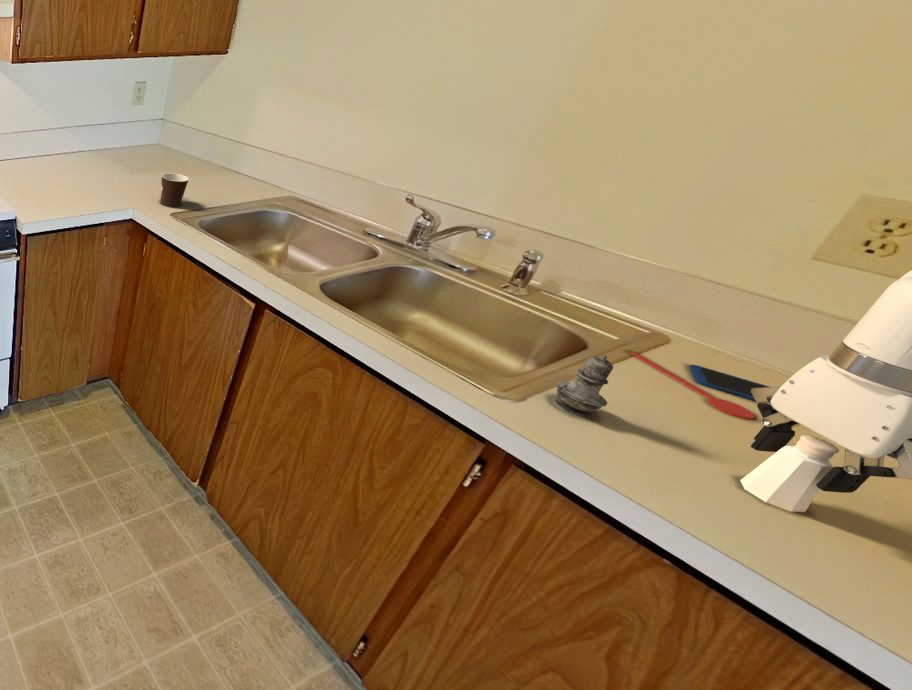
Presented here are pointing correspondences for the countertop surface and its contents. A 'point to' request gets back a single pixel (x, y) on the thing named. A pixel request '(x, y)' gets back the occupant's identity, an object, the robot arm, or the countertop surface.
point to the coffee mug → (173, 189)
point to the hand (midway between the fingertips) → (796, 468)
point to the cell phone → (724, 382)
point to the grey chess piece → (585, 388)
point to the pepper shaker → (792, 474)
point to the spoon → (706, 394)
